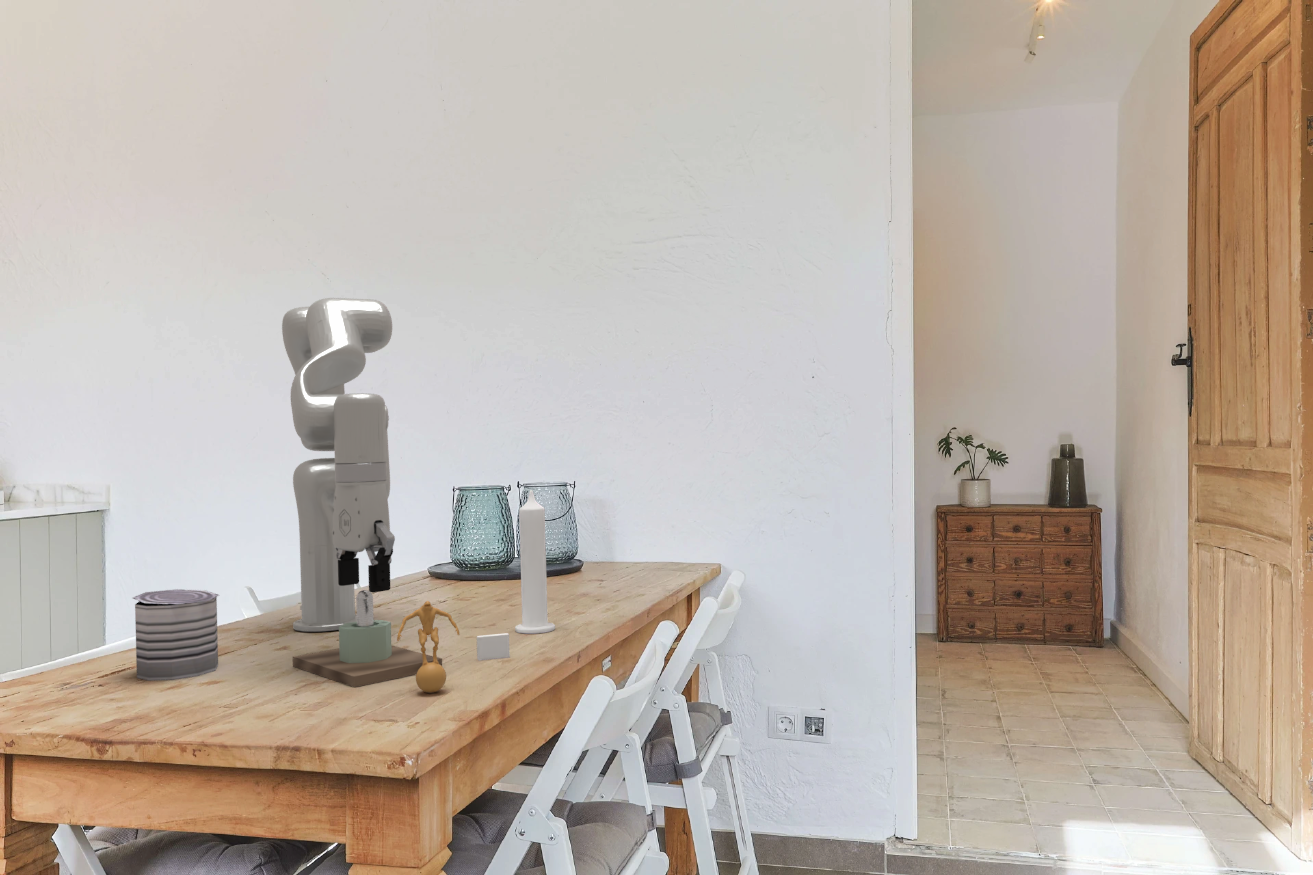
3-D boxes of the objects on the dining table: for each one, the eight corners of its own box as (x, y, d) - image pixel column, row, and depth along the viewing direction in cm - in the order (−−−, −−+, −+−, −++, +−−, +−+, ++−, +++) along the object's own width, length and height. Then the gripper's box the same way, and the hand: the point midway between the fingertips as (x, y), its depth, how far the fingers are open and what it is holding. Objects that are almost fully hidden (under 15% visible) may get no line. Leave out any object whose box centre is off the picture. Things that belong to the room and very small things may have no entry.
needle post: (355, 657, 144) (353, 590, 144) (369, 654, 145) (367, 588, 145) (362, 659, 142) (360, 591, 142) (377, 657, 144) (375, 589, 144)
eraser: (477, 659, 148) (476, 635, 148) (508, 656, 149) (507, 632, 149) (478, 661, 146) (477, 637, 146) (509, 658, 148) (509, 634, 148)
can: (195, 660, 153) (193, 585, 153) (234, 668, 146) (232, 590, 146) (121, 675, 143) (119, 595, 143) (159, 684, 137) (157, 601, 137)
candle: (558, 625, 173) (554, 488, 173) (550, 633, 166) (546, 490, 166) (520, 626, 173) (516, 489, 174) (510, 634, 166) (506, 491, 167)
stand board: (292, 666, 146) (292, 656, 146) (376, 650, 156) (376, 641, 156) (354, 687, 132) (353, 676, 132) (442, 668, 141) (442, 658, 141)
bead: (333, 658, 144) (332, 625, 144) (375, 650, 149) (374, 618, 149) (356, 665, 139) (355, 630, 139) (398, 656, 144) (397, 623, 144)
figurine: (401, 699, 124) (398, 607, 124) (396, 689, 130) (394, 601, 130) (465, 691, 127) (462, 602, 127) (457, 682, 133) (455, 596, 133)
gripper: (312, 475, 148) (314, 585, 148) (365, 477, 135) (368, 597, 135) (357, 473, 153) (359, 579, 153) (412, 474, 140) (415, 590, 141)
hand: (363, 587), depth 144 cm, fingers open, 9 cm apart
